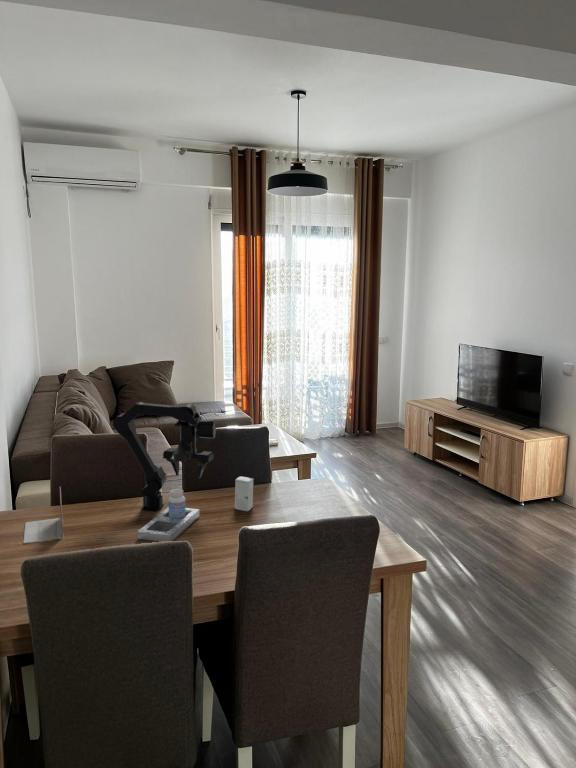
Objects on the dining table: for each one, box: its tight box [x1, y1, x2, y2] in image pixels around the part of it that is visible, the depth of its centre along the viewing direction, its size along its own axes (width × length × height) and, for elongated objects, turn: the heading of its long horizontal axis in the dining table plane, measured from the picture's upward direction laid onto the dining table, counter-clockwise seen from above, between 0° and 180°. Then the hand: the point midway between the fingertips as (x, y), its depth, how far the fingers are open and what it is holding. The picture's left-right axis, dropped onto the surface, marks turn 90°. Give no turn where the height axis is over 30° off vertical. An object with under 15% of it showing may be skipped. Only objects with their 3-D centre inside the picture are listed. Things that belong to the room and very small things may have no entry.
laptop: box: [22, 486, 64, 545], centre depth 202 cm, size 18×12×13 cm
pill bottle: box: [168, 488, 186, 519], centre depth 212 cm, size 6×6×11 cm
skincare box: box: [234, 476, 254, 512], centre depth 225 cm, size 6×4×12 cm
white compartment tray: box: [137, 506, 200, 543], centre depth 207 cm, size 12×24×3 cm, turn 165°
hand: (188, 476), depth 223 cm, fingers open, 9 cm apart
